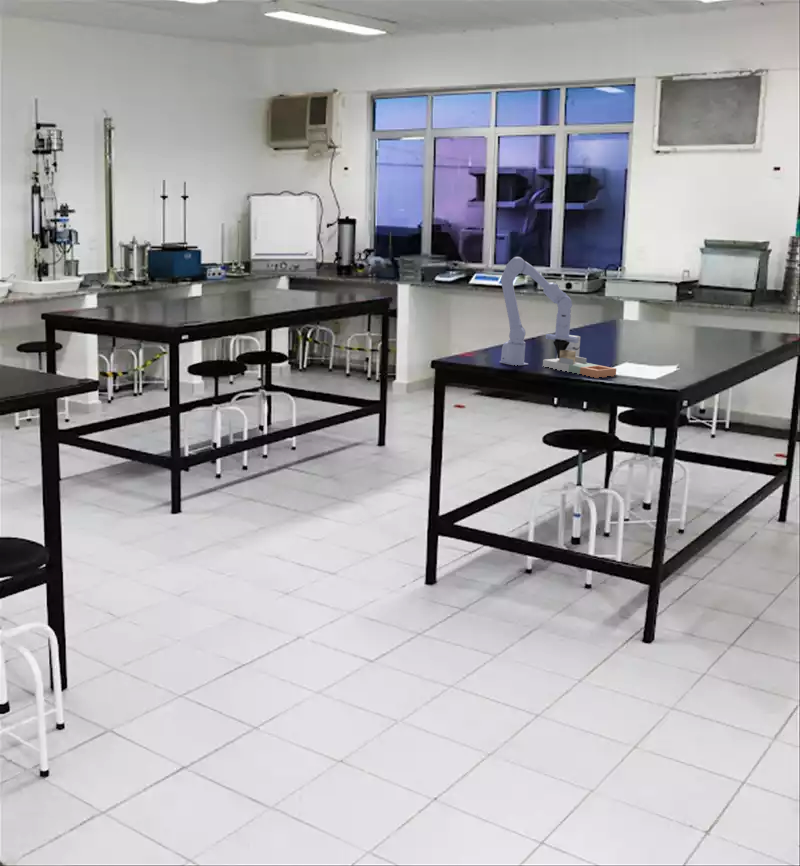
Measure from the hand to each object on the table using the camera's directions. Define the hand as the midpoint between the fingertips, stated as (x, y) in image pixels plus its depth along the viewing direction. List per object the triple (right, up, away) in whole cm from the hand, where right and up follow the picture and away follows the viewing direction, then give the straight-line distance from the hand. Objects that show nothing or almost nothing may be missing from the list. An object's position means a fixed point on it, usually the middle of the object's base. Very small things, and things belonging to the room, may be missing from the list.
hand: (560, 358), depth 423 cm
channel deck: (+6, -6, -7) cm, 11 cm away
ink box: (+5, -1, +16) cm, 17 cm away
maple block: (+2, -2, -3) cm, 4 cm away
